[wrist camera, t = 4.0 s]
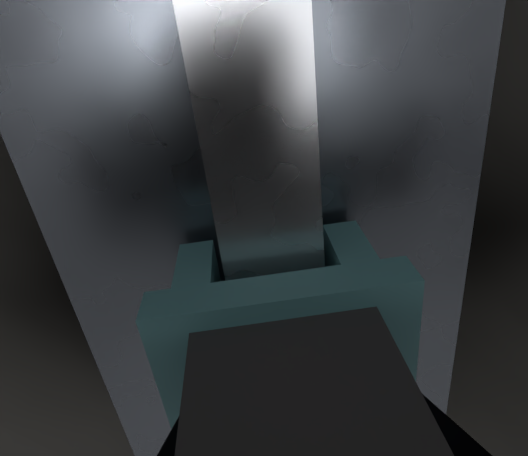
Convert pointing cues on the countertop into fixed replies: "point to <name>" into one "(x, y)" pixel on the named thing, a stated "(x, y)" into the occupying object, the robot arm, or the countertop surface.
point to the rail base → (156, 174)
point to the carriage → (292, 355)
